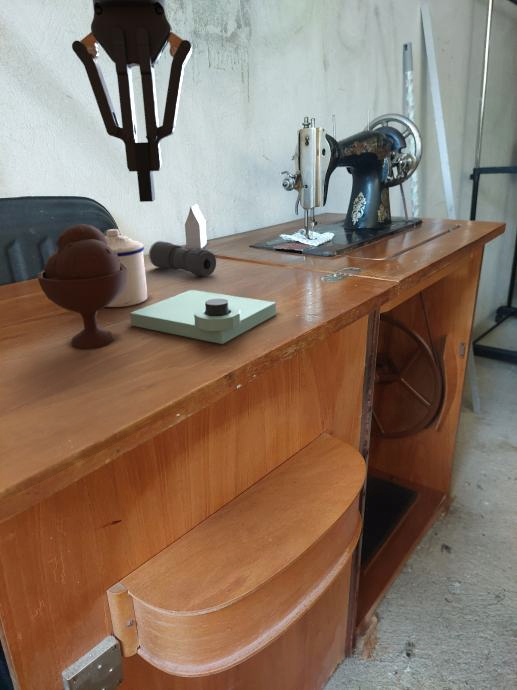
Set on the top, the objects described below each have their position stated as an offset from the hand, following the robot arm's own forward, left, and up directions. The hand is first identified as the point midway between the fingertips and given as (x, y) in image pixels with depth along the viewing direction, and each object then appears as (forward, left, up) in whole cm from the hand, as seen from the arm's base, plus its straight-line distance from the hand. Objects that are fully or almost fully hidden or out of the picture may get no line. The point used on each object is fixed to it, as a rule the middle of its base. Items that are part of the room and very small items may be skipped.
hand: (147, 200), depth 62 cm
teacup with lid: (-19, +10, -18) cm, 28 cm away
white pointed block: (-37, +56, -18) cm, 70 cm away
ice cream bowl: (-7, -5, -18) cm, 20 cm away
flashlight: (-22, +32, -18) cm, 43 cm away
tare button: (+7, +4, -15) cm, 17 cm away
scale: (+1, +9, -18) cm, 20 cm away
